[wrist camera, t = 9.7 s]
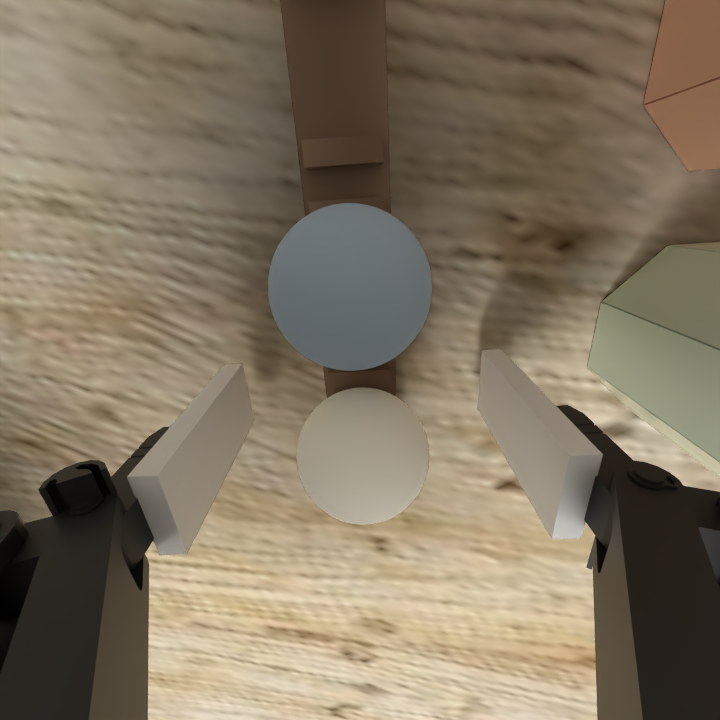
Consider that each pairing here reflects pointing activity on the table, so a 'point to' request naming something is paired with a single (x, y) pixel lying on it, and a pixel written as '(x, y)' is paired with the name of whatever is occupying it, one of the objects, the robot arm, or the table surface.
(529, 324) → the table surface
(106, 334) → the table surface
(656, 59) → the tubes
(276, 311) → the blue ball
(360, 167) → the rack
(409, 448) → the cream ball
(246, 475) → the table surface
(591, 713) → the table surface
